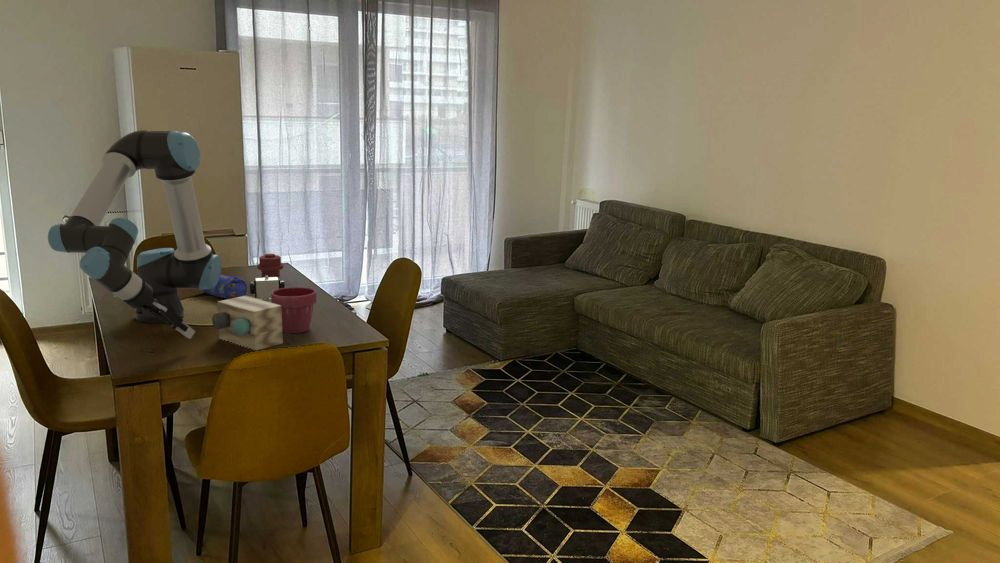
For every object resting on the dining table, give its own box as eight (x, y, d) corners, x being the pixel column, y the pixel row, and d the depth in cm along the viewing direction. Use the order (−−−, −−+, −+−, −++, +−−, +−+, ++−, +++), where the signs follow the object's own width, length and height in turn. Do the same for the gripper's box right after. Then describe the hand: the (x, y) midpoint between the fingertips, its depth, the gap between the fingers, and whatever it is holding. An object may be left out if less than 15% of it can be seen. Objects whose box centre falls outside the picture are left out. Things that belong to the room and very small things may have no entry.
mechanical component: (272, 280, 322) (289, 284, 316) (252, 284, 313) (269, 288, 308) (271, 251, 319) (288, 254, 314) (251, 254, 311) (268, 257, 305)
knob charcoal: (221, 330, 236) (221, 315, 235) (212, 327, 238) (211, 312, 237) (256, 322, 245) (255, 307, 244) (246, 319, 248) (245, 305, 247)
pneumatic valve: (285, 309, 279) (284, 276, 276) (251, 311, 275) (249, 278, 272) (284, 305, 284) (283, 273, 281) (250, 307, 280) (249, 274, 277)
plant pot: (287, 321, 264) (286, 284, 261) (325, 325, 260) (324, 288, 257) (263, 332, 250) (262, 294, 247) (302, 337, 246) (301, 298, 244)
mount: (255, 350, 233) (253, 311, 230) (219, 338, 243) (217, 301, 240) (282, 343, 240) (281, 305, 238) (246, 331, 251) (244, 295, 248)
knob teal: (242, 337, 230) (241, 321, 229) (232, 334, 233) (231, 318, 232) (276, 328, 240) (275, 313, 239) (266, 325, 242) (265, 310, 241)
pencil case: (195, 293, 298) (194, 269, 295) (215, 290, 304) (214, 266, 302) (229, 304, 284) (227, 278, 282) (249, 299, 291) (248, 274, 289)
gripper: (111, 297, 216) (171, 340, 233) (136, 305, 208) (196, 349, 225) (128, 275, 219) (186, 320, 236) (154, 282, 211) (212, 328, 228)
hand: (191, 334), depth 230 cm, fingers closed
